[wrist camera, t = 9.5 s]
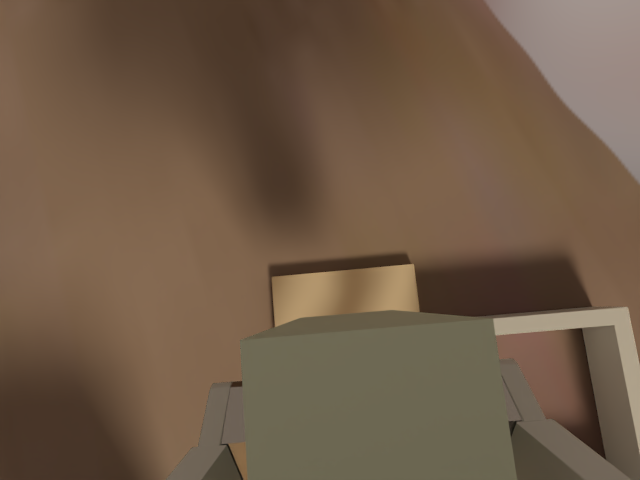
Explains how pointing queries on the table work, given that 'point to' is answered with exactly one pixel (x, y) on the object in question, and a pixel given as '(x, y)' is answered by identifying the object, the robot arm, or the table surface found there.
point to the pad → (344, 292)
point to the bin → (599, 371)
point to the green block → (376, 399)
